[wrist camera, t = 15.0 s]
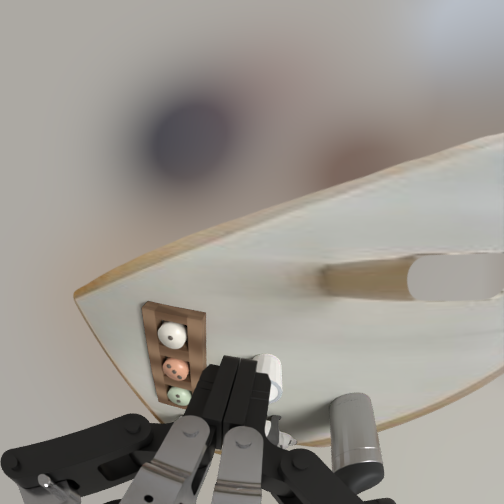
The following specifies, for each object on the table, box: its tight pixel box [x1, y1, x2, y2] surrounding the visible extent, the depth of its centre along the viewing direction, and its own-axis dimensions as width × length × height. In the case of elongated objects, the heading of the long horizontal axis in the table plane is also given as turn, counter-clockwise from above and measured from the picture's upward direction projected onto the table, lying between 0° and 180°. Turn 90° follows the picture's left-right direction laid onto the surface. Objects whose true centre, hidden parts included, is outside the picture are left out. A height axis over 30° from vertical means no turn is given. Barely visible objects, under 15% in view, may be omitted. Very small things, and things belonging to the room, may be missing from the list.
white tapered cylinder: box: [252, 354, 282, 404], centre depth 44 cm, size 7×7×7 cm
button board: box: [142, 301, 206, 409], centre depth 49 cm, size 26×11×2 cm, turn 175°
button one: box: [158, 321, 188, 349], centre depth 46 cm, size 5×5×2 cm
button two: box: [167, 386, 192, 406], centre depth 51 cm, size 5×5×2 cm
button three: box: [163, 357, 190, 381], centre depth 48 cm, size 5×5×2 cm
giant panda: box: [265, 415, 297, 449], centre depth 49 cm, size 12×5×8 cm, turn 79°
